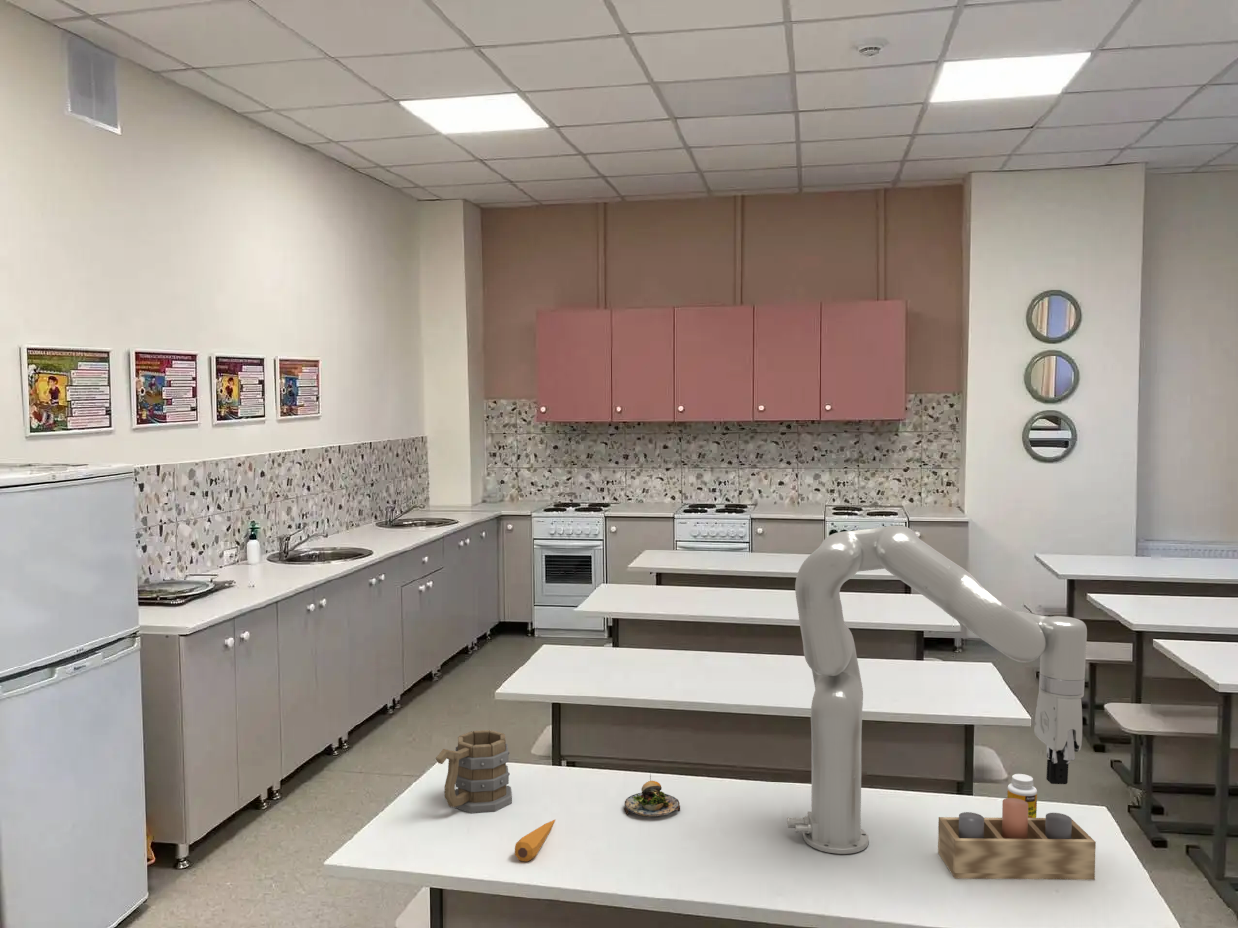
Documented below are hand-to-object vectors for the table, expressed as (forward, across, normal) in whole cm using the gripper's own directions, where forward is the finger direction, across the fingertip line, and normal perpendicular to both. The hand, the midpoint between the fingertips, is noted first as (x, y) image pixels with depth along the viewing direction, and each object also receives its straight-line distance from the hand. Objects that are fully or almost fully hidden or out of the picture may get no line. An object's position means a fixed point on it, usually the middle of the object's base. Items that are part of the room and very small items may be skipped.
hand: (1056, 782), depth 177 cm
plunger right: (+14, 0, +1) cm, 14 cm away
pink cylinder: (+11, 0, -7) cm, 13 cm away
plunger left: (+14, 0, -15) cm, 21 cm away
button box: (+16, 0, -7) cm, 18 cm away
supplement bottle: (+16, -17, +1) cm, 23 cm away
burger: (+18, -24, -74) cm, 80 cm away
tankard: (+19, -25, -113) cm, 117 cm away
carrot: (+18, -9, -96) cm, 98 cm away
